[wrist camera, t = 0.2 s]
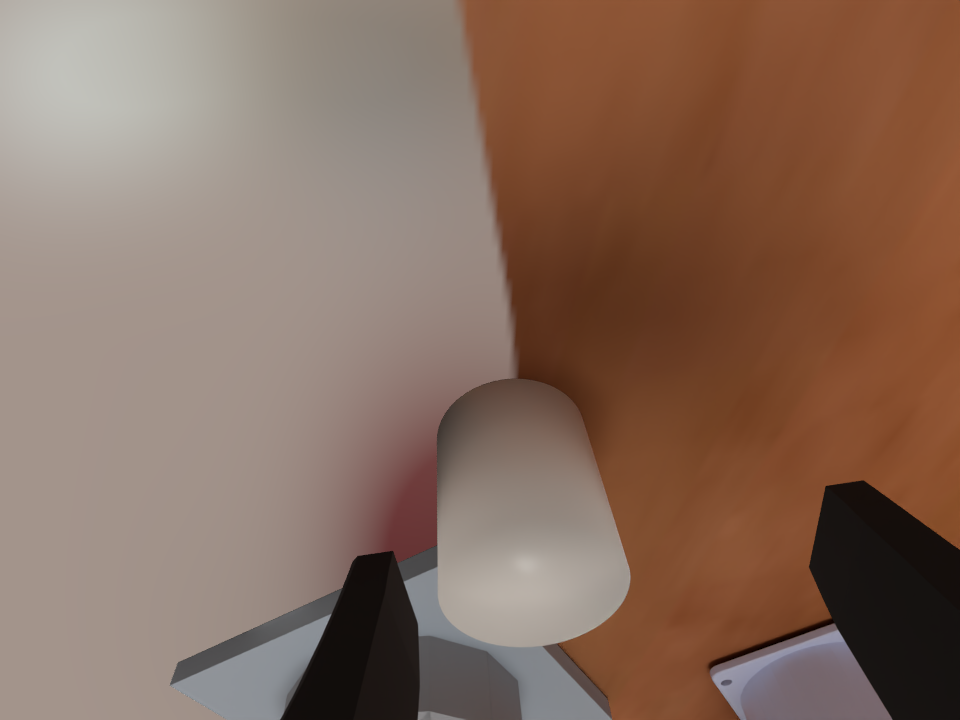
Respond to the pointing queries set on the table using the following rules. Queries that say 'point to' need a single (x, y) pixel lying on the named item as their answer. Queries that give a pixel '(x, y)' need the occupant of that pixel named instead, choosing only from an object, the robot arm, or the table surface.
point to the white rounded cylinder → (523, 519)
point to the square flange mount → (442, 658)
